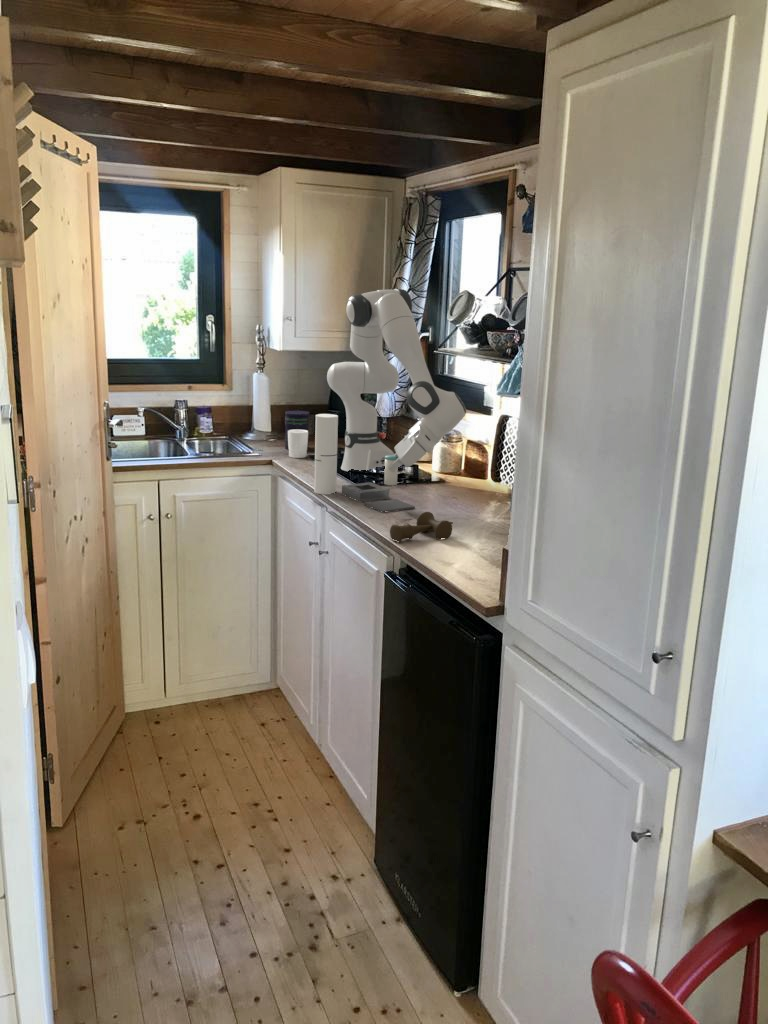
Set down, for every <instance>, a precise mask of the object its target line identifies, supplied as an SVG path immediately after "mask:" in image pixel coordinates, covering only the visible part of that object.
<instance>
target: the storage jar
mask: <svg viewBox="0 0 768 1024" xmlns="http://www.w3.org/2000/svg"><path fill="white" fill-rule="evenodd" d="M284 414H285V416H284V426H285V435H284V449H285V450H286V451H289V448H288V430H294V429H300V430H307V431H308V432H309V427H310V416H309V415H310V411H307V410H299V409H298V410H294V409H293V410H286V411H285V413H284ZM309 443H310V436H309V434H308V444H307V451H308V450H309V448H310V447H309Z"/></svg>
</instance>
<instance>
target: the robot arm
mask: <svg viewBox="0 0 768 1024" xmlns="http://www.w3.org/2000/svg"><path fill="white" fill-rule="evenodd" d="M345 307H346V308H345V309H346V310H345V311H346V316H347V319H348V322H349V323H350V324H351V325H350V326H351V327H350V339H349V349H350V351H351V353H352V354H353V355H355V356H356V357H357V359H360V360H362V361H364V362H362V361H342V362H335V363H333V364H331V365H330V367H329V368H328V369H327V373H326V374H327V375H326V380H327V384H328V386H329V387H330V389H331V390H332V391H333V392H334V393H336V394H337V395H338V397H340V399H341V401H342V403H343V405H344V408H345V417H346V419H345V421H346V424H345V425H346V426H345V427H346V429H345V432H344V446H345V447H344V453H343V459H342V463H341V466H340V469H341V470H342V471H344V472H348V471H349V470H351V469H354V470H359V471H361V470H366V471H367V470H369V469H373V468H376V467H382V466H385V456H386V455H395V456H398V459H397V460H396V461H395V462H394V463H393V464H391V465H390V466H389V467H388V468H389V470H390V471H391V472H393V471H394V470H395V469H397V468H398V467H400V466H401V467H402V466H405V468H410V467H411V466H413V465H414V464H415V463H416V462H418V461H419V460H420V459H421V458H423V457H424V456H425V455H426V454H430V453H431V452H433V451H434V448H435V446H437V444H438V443H439V442H440V441H441V440H442V439H443V437H444V436H445V435H447V434H449V432H451V431H452V430H453V429H454V428H455V427H456V426H457V425H458V424H459V423H460V422H461V421H462V420H463V419H464V418H465V416H466V414H467V408H466V405H465V403H464V402H463V401H462V399H461V397H460V396H459V394H457V393H456V392H454V391H447V390H444V389H442V388H439V387H438V386H436V385H435V383H434V381H433V378H432V375H431V373H430V370H429V367H428V365H427V363H426V359H425V356H424V352H423V348H422V347H423V346H422V343H421V338H420V333H419V331H418V327H417V323H416V321H415V318H414V315H413V313H412V312H413V301H412V297H411V295H410V293H409V292H408V291H407V290H406V289H401V288H394V289H377V290H375V291H369V292H368V291H367V292H364V293H356V294H353V295H351V296H350V297H349V298H348V299H347V301H346V306H345ZM383 340H384V342H385V343H386V346H387V347H388V349H389V351H390V352H391V353H392V354H393V356H394V357H395V358H396V359H397V360H398V361H399V363H400V364H401V365H402V366H403V367H404V368H405V370H406V372H407V374H408V376H409V378H410V381H411V383H412V385H411V386H410V387H409V388H408V390H407V392H406V401H407V404H408V406H409V408H410V409H411V410H412V411H413V412H414V413H415V414H416V415H417V417H418V418H419V420H418V421H417V422H415V423H414V424H413V425H412V427H410V428H409V429H408V431H409V434H407V435H406V436H405V437H404V438H403V439H401V440H400V441H399V442H398V443H396V445H395V446H394V448H393V449H394V451H395V453H394V451H393V450H392V449H390V448H389V447H388V446H386V445H385V444H384V443H383V442H382V441H381V439H385V438H386V437H387V434H386V433H385V432H379V431H378V430H377V427H378V411H377V409H376V408H375V407H374V406H373V405H372V404H370V403H369V402H367V401H365V400H363V399H362V397H361V394H379V395H380V394H386V393H391V392H394V391H395V390H396V388H397V387H398V385H399V382H400V373H399V371H398V369H397V368H396V366H395V365H394V364H393V363H391V362H390V361H389V360H388V359H387V357H386V355H385V354H384V351H383Z"/></svg>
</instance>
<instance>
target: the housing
mask: <svg viewBox="0 0 768 1024" xmlns="http://www.w3.org/2000/svg"><path fill="white" fill-rule="evenodd" d="M342 494H344V495H346V496H345V497H347V496H348V497H347V498H349V497H351V498H353V499H352V500H354V499H356V500H358V501H366V502H370V501H369V500H374V501H382V500H390V488H387V487H385V486H381V485H380V484H377V483H374V482H371V481H370V482H369V481H367V482H360V483H359V482H358V483H352V484H343V485H341V495H342ZM344 495H343V496H344ZM351 498H350V499H351ZM356 500H355V501H356ZM358 501H357V502H358Z"/></svg>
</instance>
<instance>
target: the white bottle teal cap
mask: <svg viewBox="0 0 768 1024" xmlns="http://www.w3.org/2000/svg"><path fill="white" fill-rule="evenodd" d="M397 459H398V456H395V455H386V456H385V469H384V473H383V475H384V476H383V484H384V485H386V486H396V485H398V471H399V470H398V468H397V469H395V470H394V471H393V472H391V471H390V470H389V468H388V467H389V466H390V465H391V464H393V463H394V462H395V461H396V460H397Z"/></svg>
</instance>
